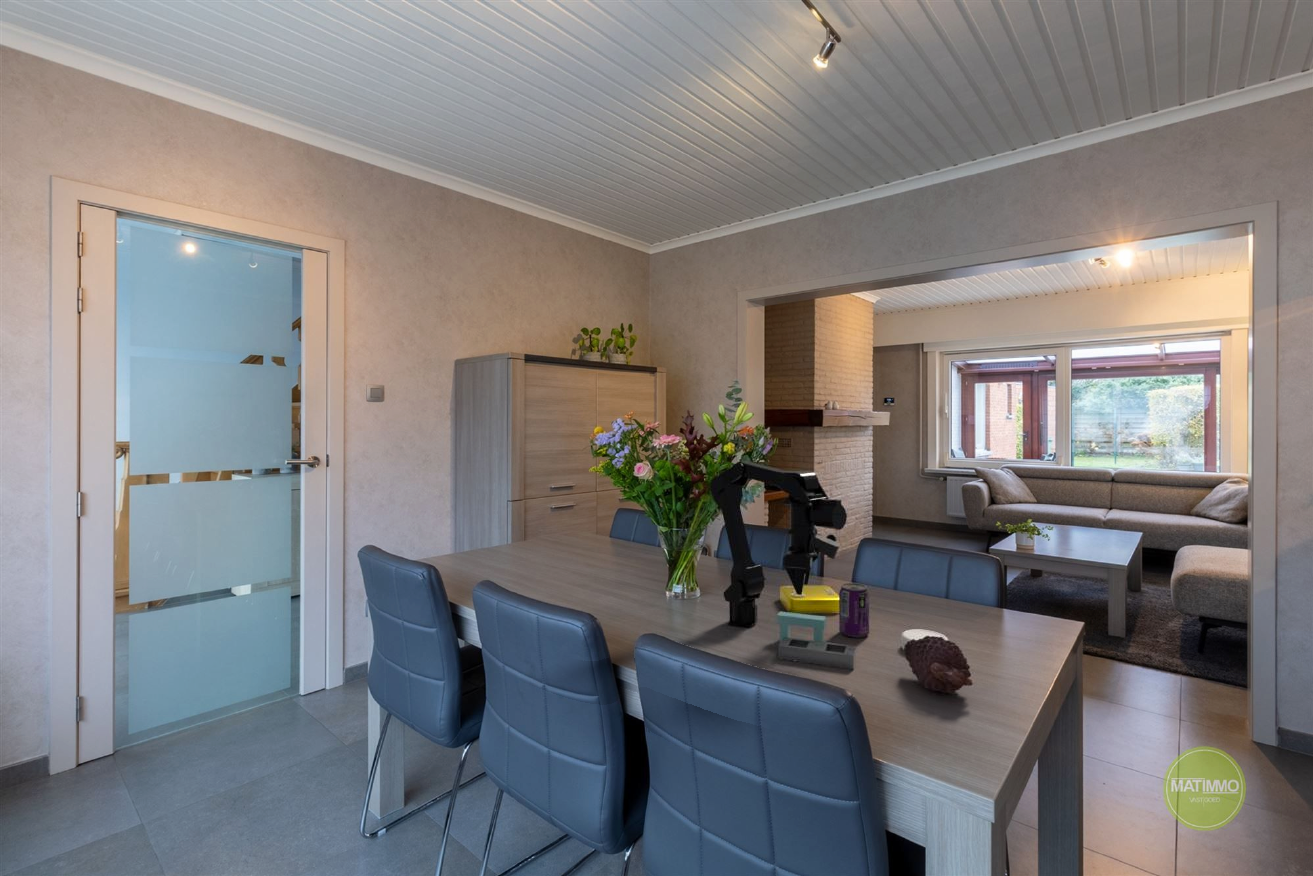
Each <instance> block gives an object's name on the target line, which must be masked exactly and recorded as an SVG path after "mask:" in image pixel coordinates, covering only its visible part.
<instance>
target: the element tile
mask: <svg viewBox="0 0 1313 876" xmlns="http://www.w3.org/2000/svg"><path fill="white" fill-rule="evenodd" d="M779 600H780V603H781V604H782V605H783V607H784V608H785V610H786V612H788V613H789V612H790V613H797V614H806V613H810V614H809V615H812V614H811V613H833V612H834V613H836V612H839V594H838V593H837V592H835V590H834V589H832V588H831V587H830V586H829V585H803V590H802V594H801V595H799V594H797V593H796V591H795V589H794V586H793V585H781V586H780V587H779ZM836 614H837V613H836ZM806 615H807V614H806Z"/></svg>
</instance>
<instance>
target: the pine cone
mask: <svg viewBox="0 0 1313 876" xmlns="http://www.w3.org/2000/svg"><path fill="white" fill-rule="evenodd" d="M948 640H949V639H948ZM948 640H945V639H943V638H942V637H934V636H931V637H930V636H926V637H924V638H923V639H919V640H915V639H912V640H911V641H908V642H907V644H905V646H904V647H905V648H904V650H903V651H904V653H905V660H906V661H907V662H908V666H909V667H910V668H911V669H912V670H911V672H912V674H913V675H915V676H916V679H917V681H918V682H919V683H921V684H923V685H924V687H925V688H926V689H932V690H933V691H934V692H940V693H945V694H946V693H947V694H949V695H950V694H952V695H953V693H956V691H959V690H960V689H962V688H963V687H964V686H965V687H966V686H969V687H970V686H973V684H974V683H973V680H971V679H970V677H971V676H972V673H971V672H970V670H969V669H970V668H971V666H970V665H969V664H968V661H967V658H966V657H965V656H964V653H963V650H961V648H960V646H959V645H957V644H956V643H955V642H952V641H951V640H949V641H948Z"/></svg>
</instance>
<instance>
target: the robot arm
mask: <svg viewBox="0 0 1313 876" xmlns="http://www.w3.org/2000/svg"><path fill="white" fill-rule="evenodd" d="M749 480H754V481H758V482H761V483H765V484H768V485H772V486H775V487H778V488H779V489H780V490H781V491H782V492H783V493H785V494H787V495H788V496H787V497H786V498H785V499H784V500H782V504H783V505H788V506H790V511H789V513H790V515H789V518H790V519H789V525H790V526H789V528H788V534H789V535H790V536H789V537H790V540H789V541H790V542H789V544H790V545H789V546H788V551H787V553H786V554H784V556H783V557H782V567H783V568H784V569H785V572H786V573H787V574H788V575H787V576H788V578H789V579H790V582H791V584H792V586H794V589H795V591H796V593H797V594H799V595H801V594H802V590H803V586H808V584H809V581H810V576H811V572H812V568H813V564H814V562H815V561H816V560H817V559H818V558H819V557H820V555H821V554H822V555H824V556H826V557H828V558H829V559H832V560H833V559H835V558H836V556H837V553H838V551H839V548H840V545H841V544H840V542H839V541H838V540H837V535H835V534H833V533H829V534H827V536H825V535H821V534H819V533H818V529H817V527H819V528H825V529H829V530H830V529H831V530H837V531H840V530H842V529H843V528H844V527H845V525H846V523H847V520H848V519H847V518H848V514H847V512H846V508H845V507H844V506H843V505H842V499H839V498H836V499H835V498H834V499H829V496H828V494H827V492H826V491H825V489H824V488H823V486H822V485H821V483H820V481H819V478H818V476H817V474H816V473H815V472H814V471H808V470H807V471H805V470H783V469H779V468H775V467H771V466H768V465H763V464H759V463H755V462H753V461H751V460H743V461H737V462H736V463H735V464H734V465H732V466H731V467H730V468H728V469H726V470H725V471H723V472H721V473H720V474H719V475H718V476H715V477H713V478H712V480H711V482H710V484H709V490H710V493H711V495H712V499H713V501H714V503H715V504H716V505H717V506H718V507H719V509H720V510H721V512H722V516H723V517H722V518H723V523H724V527H725V531H726V535H727V540H728V544H729V550H730V553H731V558H732V561H733V563H732V568H731V571H730V585H729V586H728V587H727V588H726V589H725V591H723V598H724V601H725V602H728V603H729V606H728V607H729V620H728V621H727V625H729V626H736V627H743V628H744V627H745V628H753V626H754V625H755V623H756V622H758V605H757V604H756V600H757V599H760V597H761V593H762V592H763V589H764V588H765V581H766V577H765V575H764V571H763V569H764V568H763V566H762V565H761V564H756V562H754V560H753V558H752V553H751V549H750V546H749V541H748V537H747V531H746V529H745V528H746V527H745V522H744V519H743V515H742V510H741V503H742V501H743V496H744V495H743V488H744V487H745V486H746V485H747V484H748V483H749Z"/></svg>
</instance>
